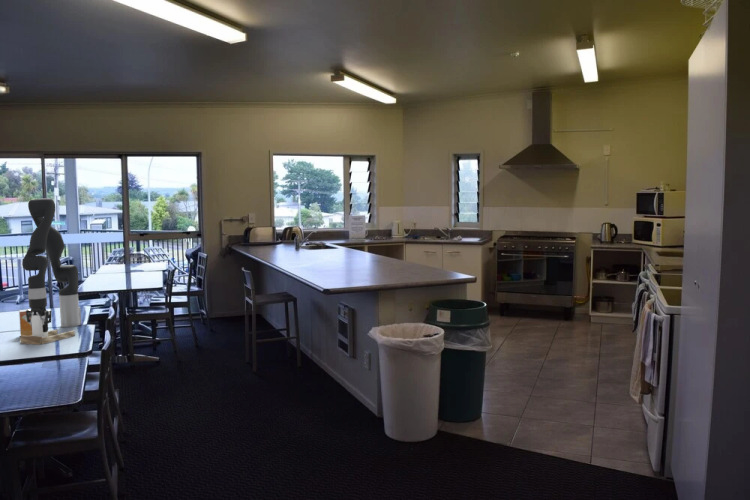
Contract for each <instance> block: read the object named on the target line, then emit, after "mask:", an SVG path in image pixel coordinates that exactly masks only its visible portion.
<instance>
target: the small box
mask: <svg viewBox="0 0 750 500" xmlns="http://www.w3.org/2000/svg"><path fill="white" fill-rule="evenodd" d="M26 310H31V308H29V309H20V310H18V314H19V315H18V316H19V330H20V331H19V333H20V336H22V335H23V336H31V335H32V329H31V324H30V322H27V316H26ZM29 318H30V317H29ZM30 319H31V318H30Z"/></svg>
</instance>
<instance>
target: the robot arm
mask: <svg viewBox="0 0 750 500" xmlns="http://www.w3.org/2000/svg"><path fill="white" fill-rule="evenodd" d="M27 207H28V212H29V214H30V216H31V218H32V220H33V222H34V224H35V227H36V228H35V229H34V230H33V232H32V233H31V235H30V239H29V245H28V248H27V251H26V253H25V255H24V256H23V259H22V262H21V263H22V269H24V270H25V271H27V272H31V271H34V272H35V271H38V272H37V274H35V275H30V276H28V278H27V282H28V283H27V285H28V287H27V288H28V293H27V296H28V305H29V306H28V307H29V309H31V310H27V309H25V310H26V316H27V322H30V324H31V329H32V321H31V319H30V318H32V315H39V317H40V320H41V321H42V324H43V332H48V331H49V324H51V323H52V310H51V309H50V310H47V306H48V299H47V298H48V297H47V289H46V273H47V269H48V265H49V263H50V266H51V270H52V273H53V277H54V279H55V281H57V283H68V285H67V286H66V287H64V288H60V289H59V290H58V300H59V301H58V302H59V314H60V315H59V316H60V317H59V318H60V327H61V328H70V327H71V328H72V327H77V326H80V325H82V314H81V311H82V310H81V307H80V303H79V270H78V267H77V266H76V265H74V264H66V265H65V264H64V265H63V264H62V263H61V257H62V254H63V252H64V249H65V241H64V239H63V236H62V234H61V233H60V232H59V230H57V229H56V228H55V227H53V226H52V223H53V219H54V217H55V214H56V204H55V201H54V200H53V199H52V198H50V197H49V198H48V197H47V198H32V199H30V200H28V203H27ZM45 252H46V254H47V256H48V258H47V257H46V256H45V255H43V254H44V253H45ZM48 259H49V260H48ZM49 261H50V262H49ZM41 316H45V318H42V317H41ZM29 317H30V318H29ZM44 319H45V322H44Z"/></svg>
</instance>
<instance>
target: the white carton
mask: <svg viewBox="0 0 750 500" xmlns="http://www.w3.org/2000/svg"><path fill="white" fill-rule="evenodd" d="M41 317H42V318H45V316H41ZM31 321H32V336H38V337H42V338H45V337H48V332H43V324H42V321H41V320H40V317H39V315H32V318H31ZM44 322H45V319H44Z"/></svg>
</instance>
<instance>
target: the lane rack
mask: <svg viewBox="0 0 750 500" xmlns="http://www.w3.org/2000/svg"><path fill="white" fill-rule="evenodd" d="M71 337H75V330H69V331H66V332H62V333H59V332H58V329H53V330H48V337H45V338H42V337H38V336H32V335H31V336H23V335H22V336H21V335H19V339H20V344H26V345H38V346H39V345H44V344H45V345H46V344H47V343H53V342H57V341H60V340H64V339H66V338H67V339H68V338H71Z"/></svg>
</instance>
